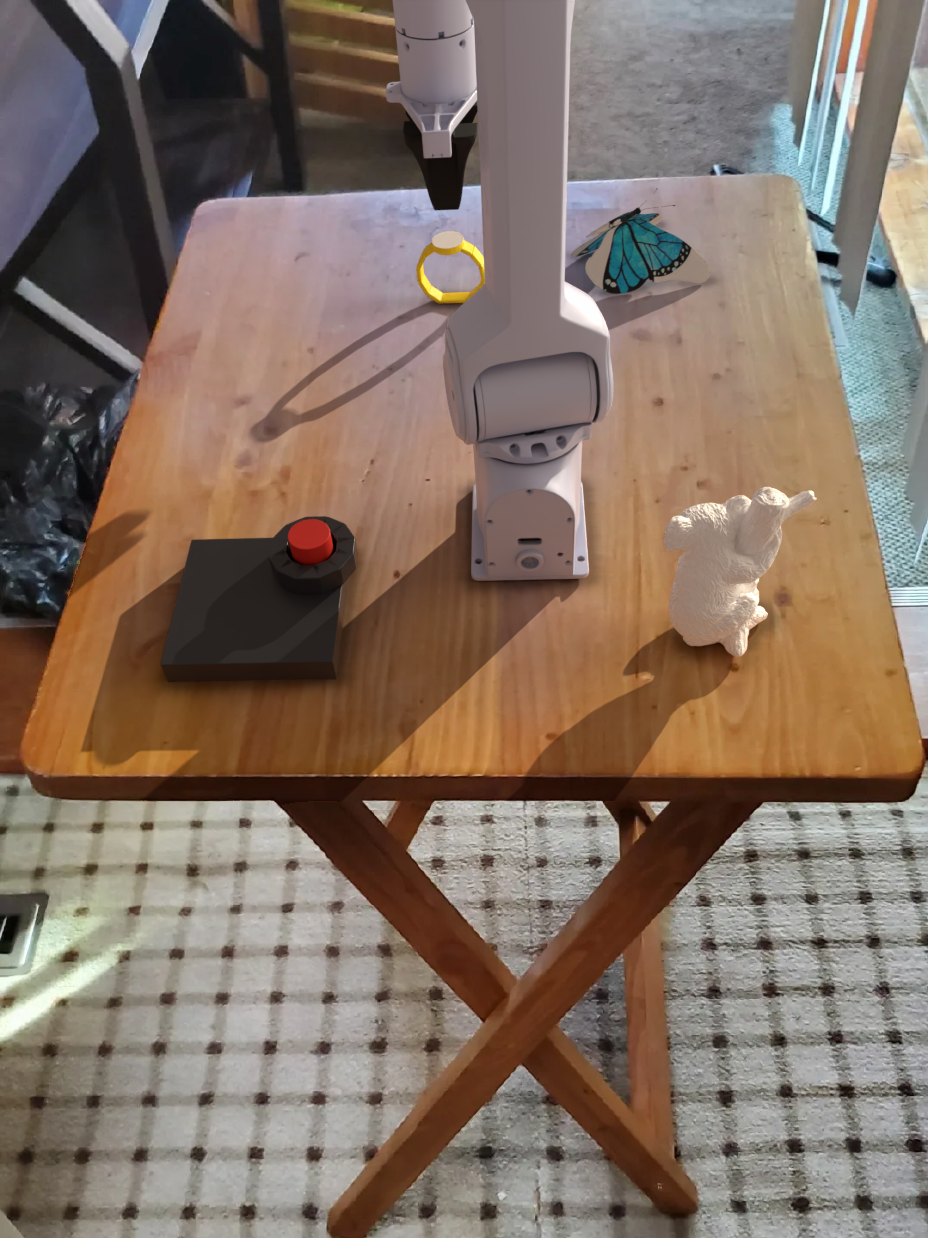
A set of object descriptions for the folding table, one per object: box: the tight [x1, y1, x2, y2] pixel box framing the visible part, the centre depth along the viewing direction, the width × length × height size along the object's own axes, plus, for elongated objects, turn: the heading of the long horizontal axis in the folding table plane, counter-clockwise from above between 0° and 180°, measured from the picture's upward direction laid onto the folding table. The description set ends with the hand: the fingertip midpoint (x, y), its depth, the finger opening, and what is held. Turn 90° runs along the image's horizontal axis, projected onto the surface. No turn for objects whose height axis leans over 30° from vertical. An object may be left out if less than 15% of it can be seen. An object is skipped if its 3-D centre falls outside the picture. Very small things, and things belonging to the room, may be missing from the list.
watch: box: [415, 230, 485, 305], centre depth 93 cm, size 6×3×6 cm, turn 81°
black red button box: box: [160, 515, 359, 683], centre depth 71 cm, size 11×12×4 cm
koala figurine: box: [663, 486, 817, 658], centre depth 65 cm, size 8×7×12 cm
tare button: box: [288, 519, 333, 565], centre depth 71 cm, size 3×3×2 cm
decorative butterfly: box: [570, 188, 711, 295], centre depth 95 cm, size 10×6×10 cm
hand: (447, 200), depth 88 cm, fingers closed
